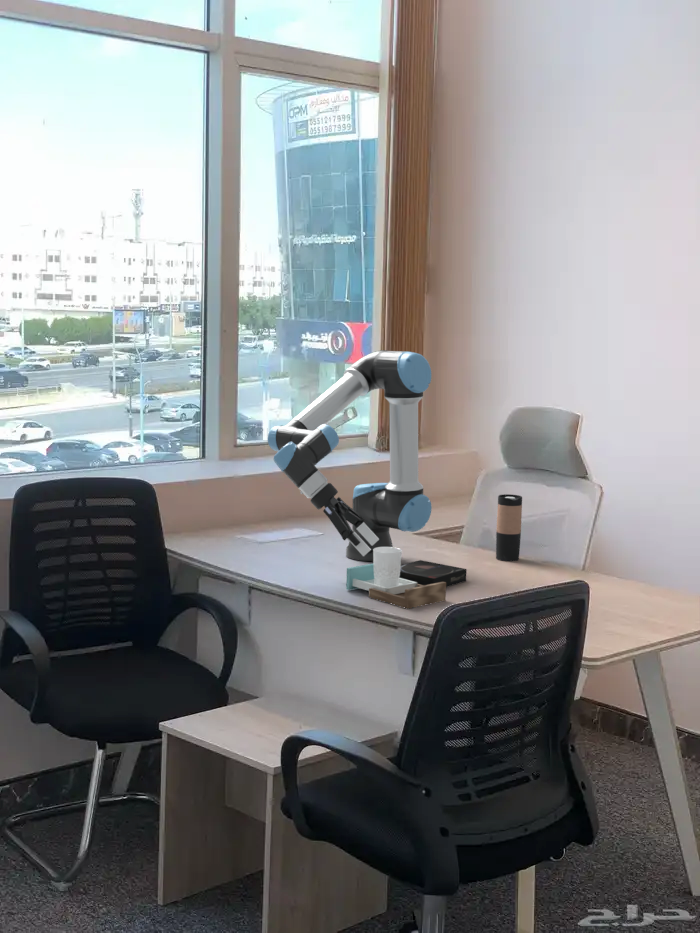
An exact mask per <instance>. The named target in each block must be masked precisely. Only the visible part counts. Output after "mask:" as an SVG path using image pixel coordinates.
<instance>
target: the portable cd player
mask: <svg viewBox="0 0 700 933" xmlns="http://www.w3.org/2000/svg"><path fill="white" fill-rule="evenodd" d="M399 578H402V579H406V580H410V581H413V582H417V584H420V585H429V584H434V583H439V582H446V588H449V587H451V586H454V585H458V584H461V583H464V582H467V568H463V567H460V566H459V567H457V566H453V565H447V564H442V563H436V562H432V561H427V560H421V559H419V560H416V561H411V562H407V563H405V564H401V567H400V576H399Z"/></svg>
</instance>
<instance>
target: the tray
mask: <svg viewBox="0 0 700 933" xmlns="http://www.w3.org/2000/svg"><path fill="white" fill-rule="evenodd" d="M414 587H417V582H413V581H410V580H406V579H402V578H399V585H398V586H393V587H388V588H386V587H383V586H379V585H376V584H374V568H373V563H368V564H363V565H356V566H351V567H347V568H346V587H345V590H348V591H353V590H356V589H357V590H358V589H361V590H364V591H368V592H369V588H374V589H377V590H381V591H384V592H388V593H391V594H399V593H404V592H405V589H409V588H414Z"/></svg>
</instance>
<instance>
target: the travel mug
mask: <svg viewBox="0 0 700 933" xmlns="http://www.w3.org/2000/svg"><path fill="white" fill-rule="evenodd" d="M522 508H523V496H521V495H517V494H507V493H506V494H499V495H498V496H497V512H496V514H497V515H496V529H495V531H496V534H495V536H496V537H495V542H496V543H495V559H496V560H498V561H502V562H517V561H519V560H520V548H521V538H522V537H521V534H522V516H523V515H522V514H523V510H522Z"/></svg>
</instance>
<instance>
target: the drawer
mask: <svg viewBox="0 0 700 933" xmlns="http://www.w3.org/2000/svg"><path fill="white" fill-rule="evenodd" d="M446 595H447V587H446V582H439V583H434V584H429V585H420V584H417V587H414V588H409V589H405V592H404V593H399V594H391V593H388V592H384V591H381V590H377V589H374V588H369V591H368V598H369V597H371V598H370V599H372V598H374V599H373V600H376V599H378V600H377V601H379V600H381V601H380V602H382V601H385V602H384V603H386V602H388V603H387V604H389V603H392V604H395V605H394V606H396V605H398V606H397V607H399V606H401V607H400V608H403V607H405V608H404V609H406V608H407V609H406V610H409V609H408V608H410V609H413V608H412V607H414V608H418V607H417V606H419V607H422V606H421V605H423V606H426V605H425V604H428V605H431V604H430V603H432V604H436V603H435V602H437V603H440V601H441V602H445V601H446V597H447V596H446ZM392 604H391V605H392Z"/></svg>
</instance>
